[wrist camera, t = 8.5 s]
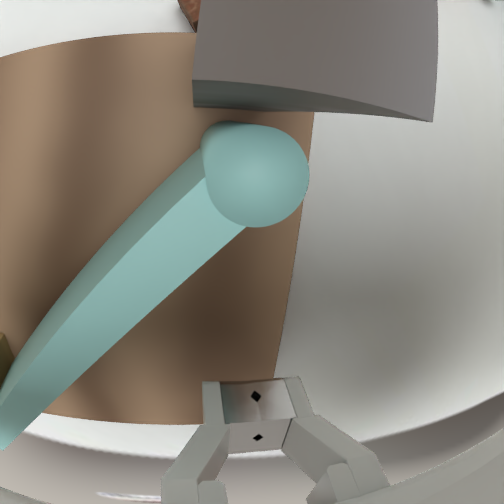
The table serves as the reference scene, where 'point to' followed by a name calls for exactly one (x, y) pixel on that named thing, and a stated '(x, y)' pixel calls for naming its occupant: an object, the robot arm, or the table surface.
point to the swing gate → (155, 257)
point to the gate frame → (167, 161)
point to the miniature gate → (191, 11)
